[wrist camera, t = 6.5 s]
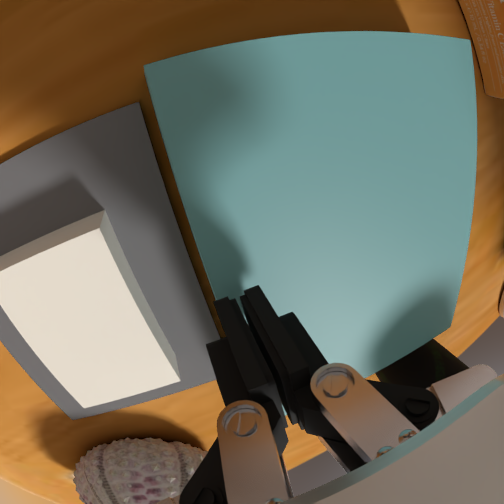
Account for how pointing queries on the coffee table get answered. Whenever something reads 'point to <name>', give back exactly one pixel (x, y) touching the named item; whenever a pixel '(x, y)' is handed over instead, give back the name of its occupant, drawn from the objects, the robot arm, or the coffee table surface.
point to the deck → (329, 179)
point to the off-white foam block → (86, 313)
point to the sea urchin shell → (136, 471)
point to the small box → (488, 41)
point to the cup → (422, 367)
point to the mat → (126, 230)
